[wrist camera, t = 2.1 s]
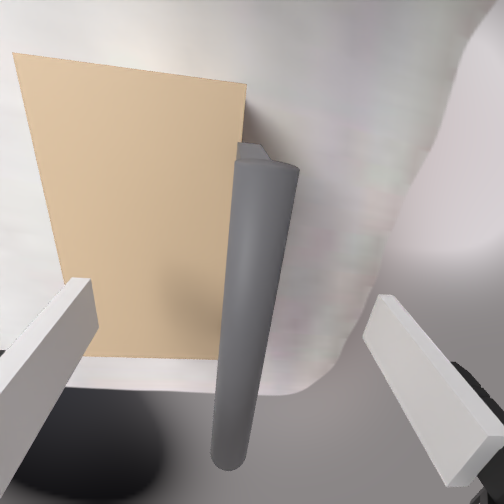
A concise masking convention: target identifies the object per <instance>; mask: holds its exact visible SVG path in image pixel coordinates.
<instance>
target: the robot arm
mask: <svg viewBox="0 0 504 504" xmlns="http://www.w3.org/2000/svg"><path fill="white" fill-rule="evenodd" d="M98 329H99V324H98V318H97V312H96V306H95V300H94V294H93V288H92V282H91V278H75V277H72V278H71V279H70V280H69V281H68V282H67V283H66V285H65V286H64V287H63V288H62V289H61V290H60V291H59V292H58V293H57V295H56V296H55V297H54V298H53V299H52V300H51V301H50V302H49V303H48V305H47V306H46V307H45V308H44V309H43V310H42V311H41V312H40V313H39V315H38V316H37V317H36V318H35V319H34V320H33V321H32V322H31V324H30V325H29V326H28V327H27V328H26V329H25V330H24V331H23V332H22V334H21V335H20V336H19V337H18V338H17V339H16V340H15V341H14V342H13V344H12V345H11V346H10V347H9V348H8V349H7V350H0V498H1V496H2V495H3V493H4V491H5V489H6V488H7V486H8V484H9V483H10V481H11V479H12V477H13V476H14V474H15V472H16V471H17V469H18V467H19V465H20V464H21V462H22V460H23V458H24V457H25V455H26V453H27V451H28V450H29V448H30V446H31V444H32V443H33V441H34V439H35V438H36V436H37V434H38V432H39V431H40V429H41V427H42V425H43V424H44V422H45V420H46V419H47V417H48V415H49V413H50V411H51V410H52V408H53V406H54V405H55V403H56V401H57V400H58V397H59V396H60V394H61V393H62V391H63V389H64V387H65V386H66V384H67V382H68V380H69V379H70V377H71V375H72V374H73V372H74V370H75V368H76V367H77V365H78V363H79V361H80V360H81V358H82V356H83V355H84V353H85V351H86V349H87V348H88V346H89V344H90V342H91V341H92V339H93V337H94V335H95V334H96V332H97V330H98ZM362 338H363V340H364V341H365V343H366V345H367V347H368V349H369V350H370V352H371V354H372V356H373V357H374V359H375V361H376V363H377V365H378V366H379V368H380V370H381V372H382V373H383V375H384V377H385V379H386V381H387V382H388V384H389V386H390V388H391V390H392V391H393V393H394V395H395V397H396V398H397V400H398V402H399V404H400V406H401V407H402V409H403V411H404V412H405V414H406V416H407V418H408V420H409V422H410V423H411V425H412V427H413V429H414V430H415V432H416V434H417V436H418V438H419V439H420V441H421V443H422V445H423V446H424V448H425V450H426V452H427V453H428V455H429V457H430V459H431V461H432V462H433V464H434V466H435V468H436V469H437V471H438V473H439V475H440V477H441V478H442V480H443V482H444V484H445V485H446V487H464V486H469V485H470V484H471V482H472V481H473V480H474V479H475V478H476V477H478V478H479V480H480V481H481V483H482V484H483V486H484V487H483V489H481V490H480V491H479V493H478V494H477V495H476V496H475V497H474V498H473V499H472V500H471V502H470V504H479V503H480V504H504V411H503V410H502V409H501V408H500V407H499V405H498V404H497V403H496V402H495V401H494V400H493V399H491V398H490V396H489V394H488V393H487V392H486V391H485V390H484V388H481V385H480V384H479V383H478V382H477V381H476V380H475V378H474V377H473V376H472V375H471V374H470V373H469V372H468V371H467V370H465V369H464V368H463V367H461V366H460V365H459V364H457V363H456V362H450V361H449V360H448V359H447V358H446V357H445V355H444V354H443V353H442V352H441V351H440V350H439V348H438V347H437V346H436V345H435V344H434V342H433V341H432V340H431V339H430V338H429V337H428V335H427V334H426V333H425V332H424V331H423V329H422V328H421V327H420V326H419V325H418V324H417V322H416V321H415V320H414V319H413V318H412V316H411V315H410V314H409V313H408V312H407V311H406V310H405V308H404V307H403V306H402V305H401V304H400V302H399V301H398V300H397V299H396V298H395V296H394V295H384V294H383V295H382V294H378V297H377V299H376V302H375V304H374V307H373V310H372V312H371V315H370V318H369V320H368V323H367V325H366V328H365V331H364V333H363V336H362Z"/></svg>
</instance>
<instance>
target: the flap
mask: <svg viewBox="0 0 504 504" xmlns="http://www.w3.org/2000/svg"><path fill="white" fill-rule="evenodd" d="M12 54H13V58H14V62H15V67H16V71H17V76H18V80H19V84H20V89H21V93H22V98H23V102H24V107H25V111H26V115H27V120H28V124H29V129H30V133H31V138H32V142H33V146H34V151H35V155H36V160H37V164H38V169H39V173H40V177H41V182H42V186H43V191H44V195H45V200H46V204H47V208H48V213H49V217H50V222H51V226H52V231H53V235H54V239H55V244H56V248H57V253H58V257H59V262H60V266H61V270H62V275H63V279H64V284H65V285H66V283H67V282H68V281H69V280H70V279H71V278H72V277H75V278H91V282H92V288H93V294H94V300H95V306H96V312H97V318H98V324H99V329H98V330H97V332H96V334H95V335H94V337H93V339H92V341H91V342H90V344H89V346H88V348H87V349H86V351H85V353H84V355H83V356H91V357H130V358H169V359H208V360H218V367H217V379H216V391H215V405H214V415H213V428H212V440H211V458H212V460H213V462H214V464H215V465H216V466H217V467H218V468H220V469H222V470H225V471H232V470H235V469H237V468H238V467H240V466H241V465H242V464H243V462H244V460H245V458H246V453H247V448H248V443H249V437H250V431H251V427H252V422H253V416H254V411H255V405H256V400H257V395H258V390H259V384H260V379H261V374H262V368H263V363H264V358H265V352H266V347H267V342H268V336H269V331H270V326H271V320H272V315H273V309H274V304H275V299H276V293H277V288H278V283H279V277H280V272H281V267H282V261H283V256H284V251H285V245H286V240H287V235H288V229H289V224H290V219H291V213H292V208H293V203H294V197H295V192H296V187H297V181H298V176H299V171H300V169H299V168H297V167H296V166H293V165H290V164H287V163H283V162H279V161H273V160H271V159H270V157H269V156H268V155H267V153H266V152H265V150H264V149H263V147H262V146H261V144H252V143H243V142H242V131H243V120H244V109H245V98H246V87H247V84H242V83H234V82H227V81H219V80H212V79H205V78H197V77H190V76H183V75H175V74H168V73H160V72H153V71H146V70H138V69H131V68H123V67H116V66H109V65H101V64H94V63H87V62H79V61H72V60H64V59H57V58H50V57H42V56H35V55H27V54H20V53H13V52H12Z"/></svg>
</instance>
